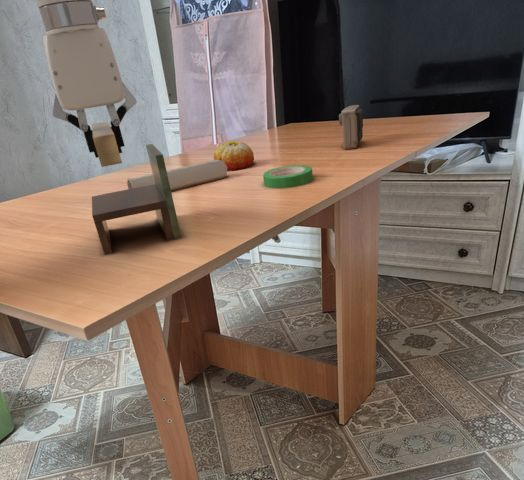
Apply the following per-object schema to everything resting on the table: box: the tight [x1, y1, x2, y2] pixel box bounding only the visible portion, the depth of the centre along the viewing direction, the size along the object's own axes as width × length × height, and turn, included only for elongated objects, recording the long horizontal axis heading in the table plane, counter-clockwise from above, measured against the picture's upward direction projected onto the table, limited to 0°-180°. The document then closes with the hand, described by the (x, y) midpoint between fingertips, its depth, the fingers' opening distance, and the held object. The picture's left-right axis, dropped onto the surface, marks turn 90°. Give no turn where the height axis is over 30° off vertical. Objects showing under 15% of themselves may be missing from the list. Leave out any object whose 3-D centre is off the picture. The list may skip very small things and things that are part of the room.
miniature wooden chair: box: [91, 143, 182, 256], centre depth 82 cm, size 13×15×14 cm
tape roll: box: [262, 164, 314, 189], centre depth 105 cm, size 11×11×3 cm
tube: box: [126, 159, 228, 192], centre depth 114 cm, size 5×5×25 cm
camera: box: [338, 104, 364, 150], centre depth 132 cm, size 11×6×10 cm, turn 162°
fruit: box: [213, 141, 255, 172], centre depth 127 cm, size 11×10×8 cm
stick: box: [91, 121, 123, 168], centre depth 77 cm, size 3×24×4 cm, turn 18°
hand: (108, 153), depth 78 cm, fingers closed on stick, 3 cm apart
